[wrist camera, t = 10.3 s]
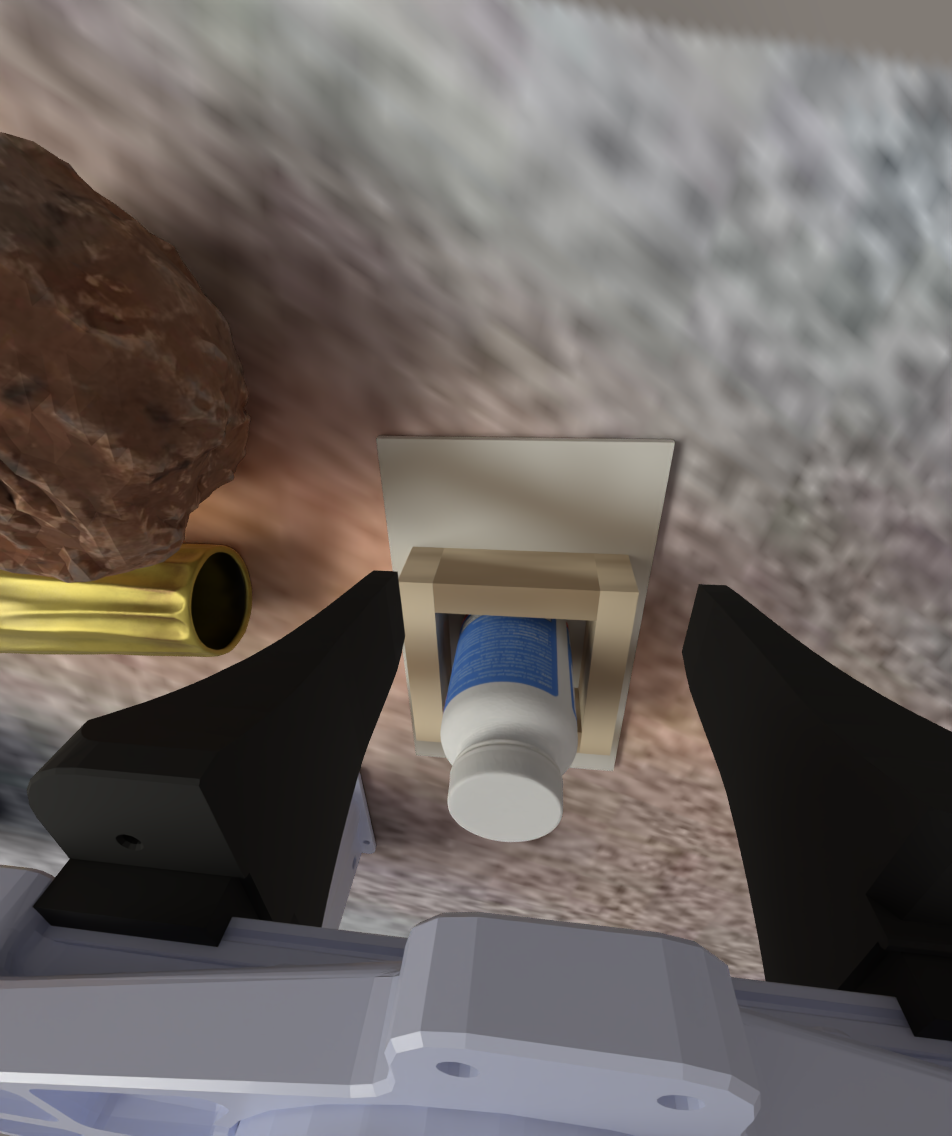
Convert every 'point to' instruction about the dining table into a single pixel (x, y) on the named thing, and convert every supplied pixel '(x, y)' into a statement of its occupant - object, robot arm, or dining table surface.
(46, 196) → the decorative rock
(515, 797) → the pill bottle
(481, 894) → the dining table surface
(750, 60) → the dining table surface
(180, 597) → the vase
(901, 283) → the dining table surface
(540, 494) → the socket block
